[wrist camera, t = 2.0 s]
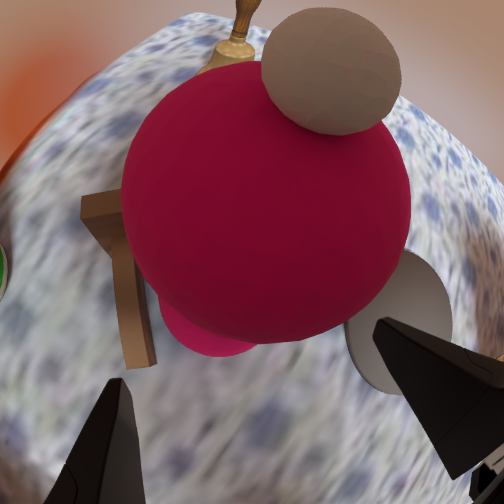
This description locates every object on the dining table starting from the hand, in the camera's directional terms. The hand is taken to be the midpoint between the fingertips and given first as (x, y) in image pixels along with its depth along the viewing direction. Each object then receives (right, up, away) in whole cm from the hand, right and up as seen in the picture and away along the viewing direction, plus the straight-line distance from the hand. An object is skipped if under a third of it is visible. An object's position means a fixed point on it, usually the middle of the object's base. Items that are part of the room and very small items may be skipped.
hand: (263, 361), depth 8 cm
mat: (+14, -3, +15) cm, 21 cm away
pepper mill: (-3, -1, +12) cm, 13 cm away
